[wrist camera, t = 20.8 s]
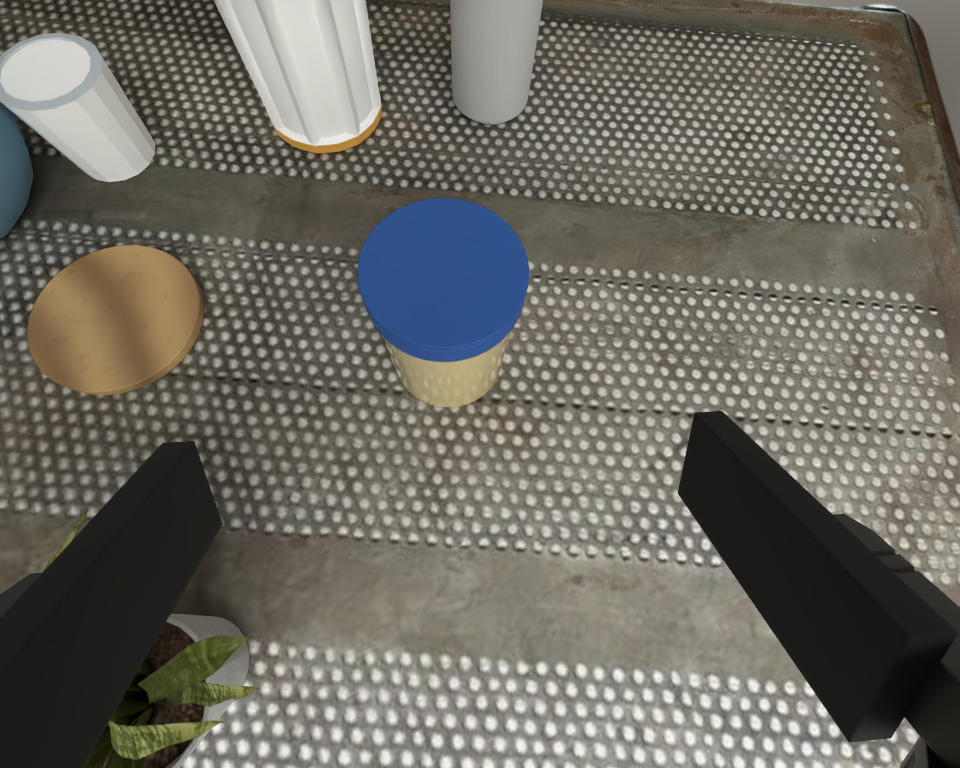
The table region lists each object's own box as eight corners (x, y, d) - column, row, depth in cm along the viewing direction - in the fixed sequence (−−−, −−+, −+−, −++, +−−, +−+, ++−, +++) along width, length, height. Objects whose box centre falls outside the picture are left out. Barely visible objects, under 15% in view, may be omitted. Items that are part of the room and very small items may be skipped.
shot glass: (83, 117, 38) (5, 28, 32) (171, 120, 39) (112, 32, 32) (60, 187, 36) (-29, 107, 30) (154, 189, 36) (86, 111, 30)
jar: (444, 430, 32) (437, 377, 21) (371, 351, 33) (332, 266, 23) (525, 358, 33) (554, 278, 23) (453, 286, 35) (450, 182, 25)
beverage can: (471, 140, 39) (475, -24, 28) (440, 86, 41) (432, -90, 30) (539, 117, 40) (571, -50, 29) (506, 65, 42) (524, -112, 31)
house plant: (404, 667, 27) (332, 830, 12) (202, 906, 23) (-294, 1607, 8) (241, 492, 30) (7, 436, 14) (37, 683, 26) (-575, 884, 11)
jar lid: (417, 197, 26) (414, 172, 25) (551, 261, 25) (558, 240, 24) (333, 315, 24) (322, 297, 22) (477, 391, 23) (478, 378, 21)
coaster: (88, 429, 31) (79, 426, 30) (6, 313, 33) (-4, 308, 32) (236, 325, 33) (231, 320, 32) (151, 224, 36) (144, 217, 35)
